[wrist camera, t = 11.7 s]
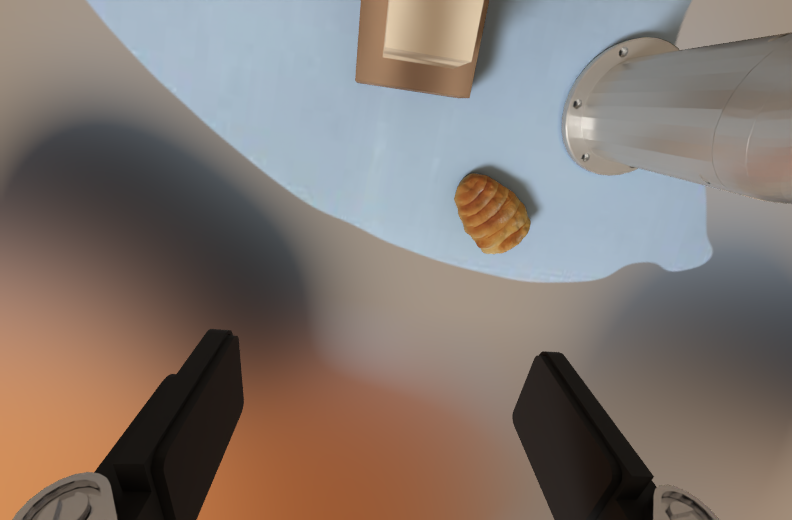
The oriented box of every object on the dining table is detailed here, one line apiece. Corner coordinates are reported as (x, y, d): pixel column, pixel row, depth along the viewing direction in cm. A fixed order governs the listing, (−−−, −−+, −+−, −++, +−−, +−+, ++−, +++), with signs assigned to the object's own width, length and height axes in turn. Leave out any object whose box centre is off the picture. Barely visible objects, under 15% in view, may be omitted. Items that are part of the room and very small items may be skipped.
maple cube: (469, -20, 26) (494, -51, 20) (452, 68, 28) (471, 61, 23) (392, -35, 25) (397, -72, 20) (382, 57, 28) (384, 47, 22)
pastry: (436, 198, 38) (443, 207, 34) (485, 156, 36) (497, 162, 32) (484, 253, 41) (494, 267, 37) (530, 217, 39) (546, 228, 36)
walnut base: (483, -30, 29) (499, -49, 25) (459, 98, 33) (469, 97, 29) (367, -53, 28) (366, -76, 24) (357, 82, 32) (355, 80, 28)
